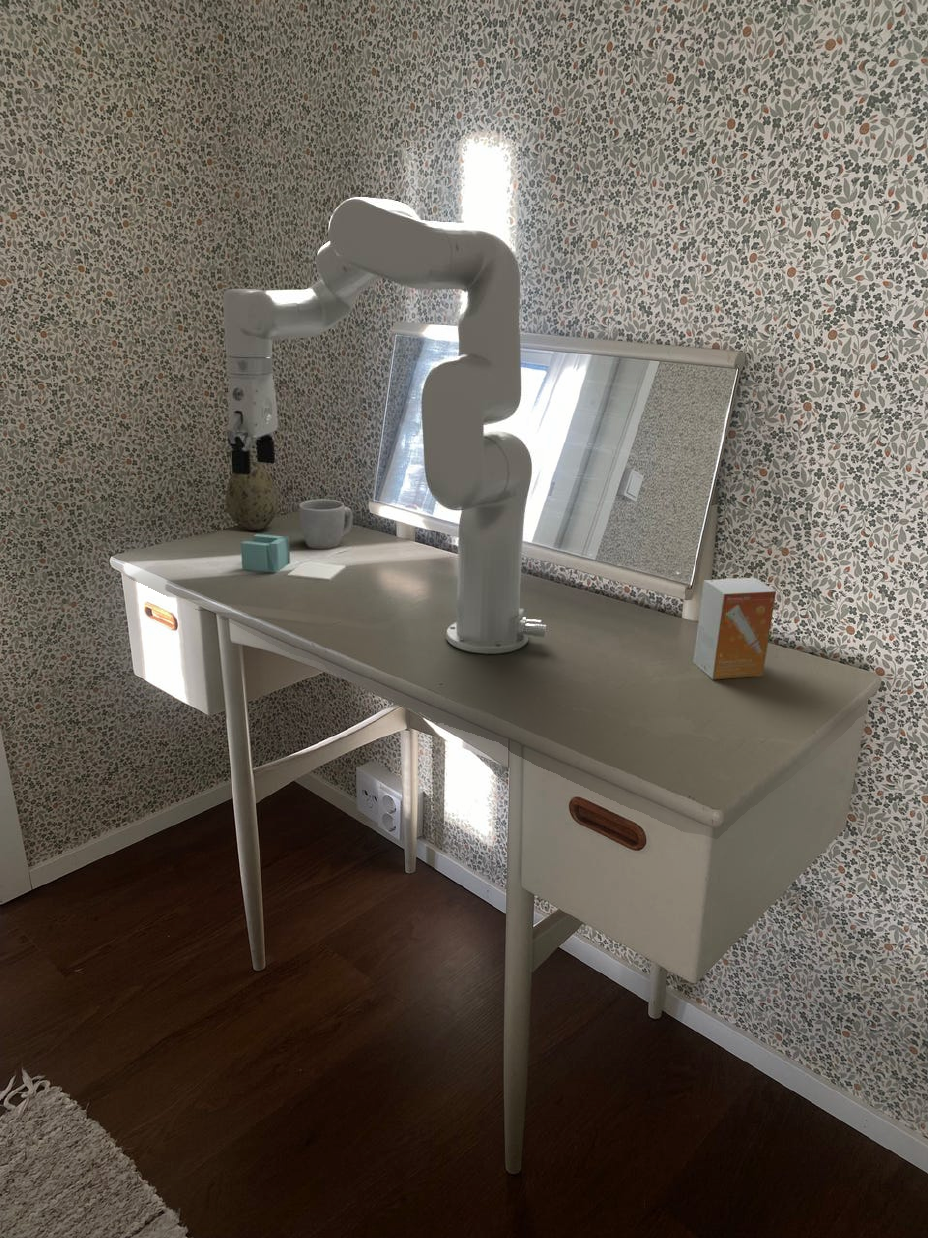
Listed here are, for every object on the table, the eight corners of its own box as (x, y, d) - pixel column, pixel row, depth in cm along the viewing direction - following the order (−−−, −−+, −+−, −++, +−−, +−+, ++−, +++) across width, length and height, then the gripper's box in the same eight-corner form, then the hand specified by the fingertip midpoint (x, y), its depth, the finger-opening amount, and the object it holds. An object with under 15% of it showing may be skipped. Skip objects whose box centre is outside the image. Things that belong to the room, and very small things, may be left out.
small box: (712, 681, 131) (723, 593, 126) (692, 663, 136) (702, 579, 132) (764, 676, 132) (777, 590, 128) (742, 659, 138) (754, 576, 133)
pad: (346, 568, 171) (346, 565, 171) (329, 581, 164) (329, 578, 163) (305, 564, 173) (305, 561, 172) (287, 577, 165) (287, 574, 165)
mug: (320, 561, 179) (318, 512, 176) (291, 551, 185) (289, 504, 181) (366, 548, 188) (365, 502, 184) (337, 540, 193) (336, 494, 190)
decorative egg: (219, 534, 195) (214, 463, 189) (239, 521, 205) (235, 454, 199) (268, 538, 193) (264, 466, 188) (286, 525, 203) (283, 456, 198)
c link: (289, 562, 172) (288, 536, 171) (275, 573, 167) (273, 546, 165) (258, 559, 174) (256, 533, 172) (242, 569, 168) (240, 542, 166)
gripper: (247, 373, 147) (252, 480, 153) (291, 363, 163) (294, 460, 169) (204, 370, 149) (210, 476, 155) (251, 360, 164) (255, 456, 171)
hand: (254, 467), depth 162 cm, fingers open, 9 cm apart
